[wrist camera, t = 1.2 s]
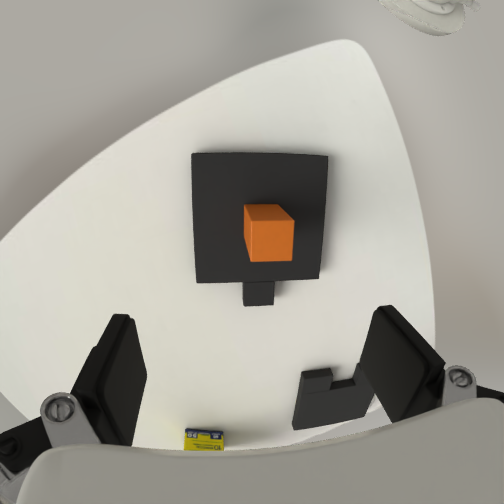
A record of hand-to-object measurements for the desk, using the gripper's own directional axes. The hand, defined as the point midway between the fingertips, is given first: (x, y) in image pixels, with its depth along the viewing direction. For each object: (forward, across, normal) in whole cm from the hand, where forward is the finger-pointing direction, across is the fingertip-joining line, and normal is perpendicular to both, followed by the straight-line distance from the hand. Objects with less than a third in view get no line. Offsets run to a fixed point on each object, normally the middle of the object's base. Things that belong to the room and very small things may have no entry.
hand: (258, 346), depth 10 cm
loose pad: (+18, -2, +1) cm, 18 cm away
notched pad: (+18, -15, +25) cm, 34 cm away
